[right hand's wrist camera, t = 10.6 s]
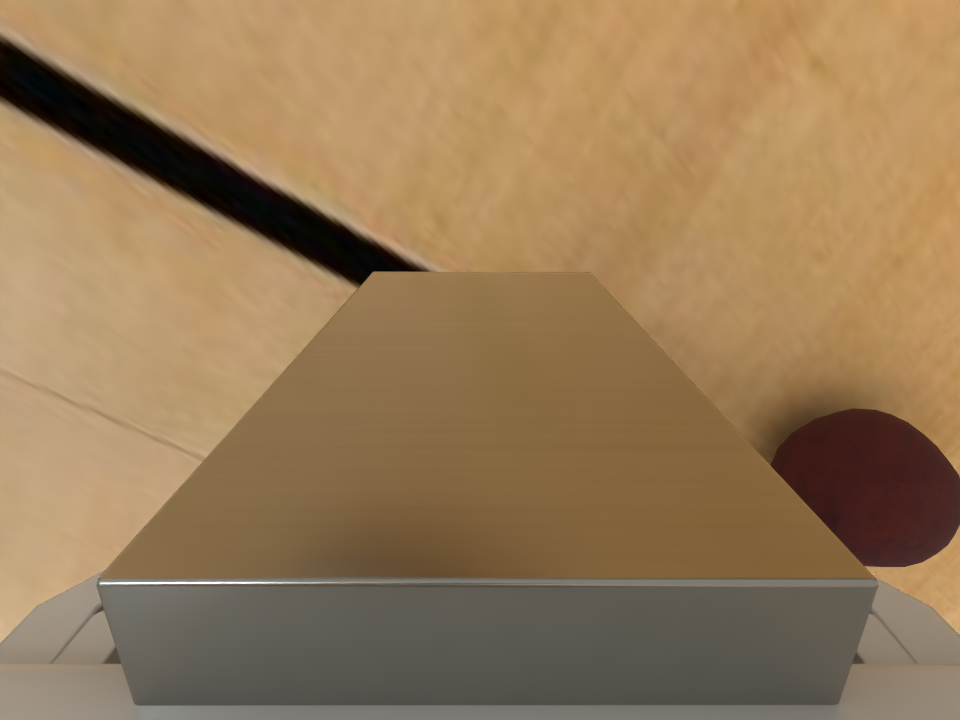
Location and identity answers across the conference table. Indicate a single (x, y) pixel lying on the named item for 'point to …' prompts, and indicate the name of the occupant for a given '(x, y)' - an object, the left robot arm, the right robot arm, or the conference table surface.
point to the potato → (874, 485)
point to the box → (485, 525)
